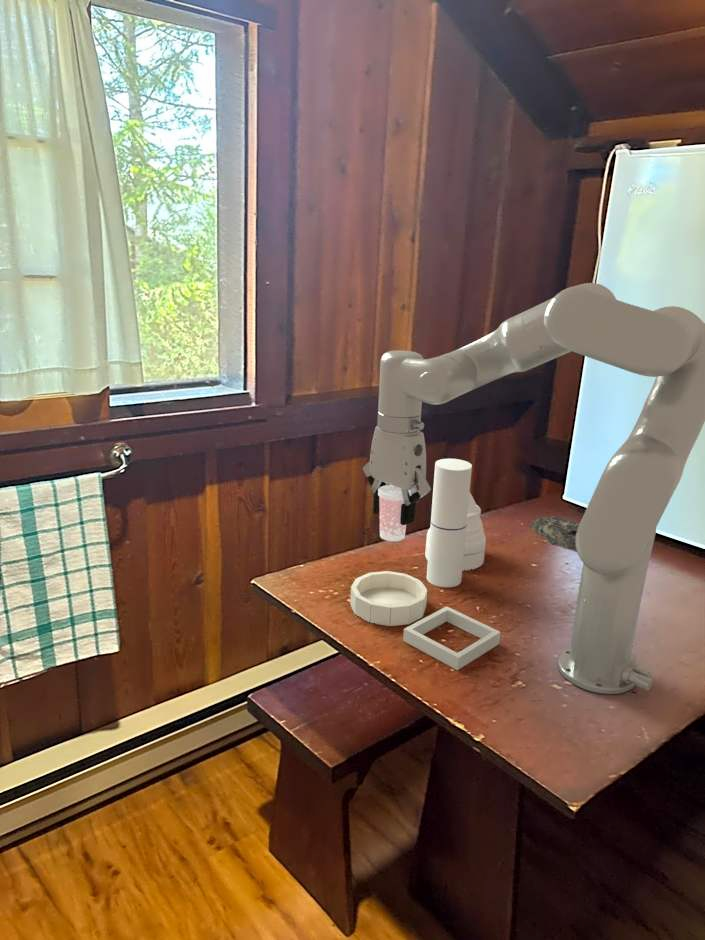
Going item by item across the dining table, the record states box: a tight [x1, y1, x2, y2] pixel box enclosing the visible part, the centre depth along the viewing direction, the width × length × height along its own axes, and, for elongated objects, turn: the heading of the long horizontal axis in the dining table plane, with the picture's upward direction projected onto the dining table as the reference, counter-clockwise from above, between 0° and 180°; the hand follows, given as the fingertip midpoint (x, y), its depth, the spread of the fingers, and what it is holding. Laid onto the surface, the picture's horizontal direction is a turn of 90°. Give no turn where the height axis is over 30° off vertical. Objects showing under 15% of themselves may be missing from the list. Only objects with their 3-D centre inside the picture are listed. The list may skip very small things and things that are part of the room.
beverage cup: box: [378, 484, 411, 542], centre depth 137 cm, size 6×6×14 cm
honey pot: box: [424, 492, 487, 572], centre depth 162 cm, size 13×13×18 cm
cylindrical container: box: [426, 458, 473, 588], centre depth 151 cm, size 7×7×25 cm
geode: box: [529, 515, 580, 553], centre depth 178 cm, size 19×4×15 cm
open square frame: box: [402, 606, 502, 671], centre depth 132 cm, size 12×12×2 cm
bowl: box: [349, 570, 428, 627], centre depth 143 cm, size 14×14×4 cm
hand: (393, 516), depth 138 cm, fingers closed on beverage cup, 6 cm apart
